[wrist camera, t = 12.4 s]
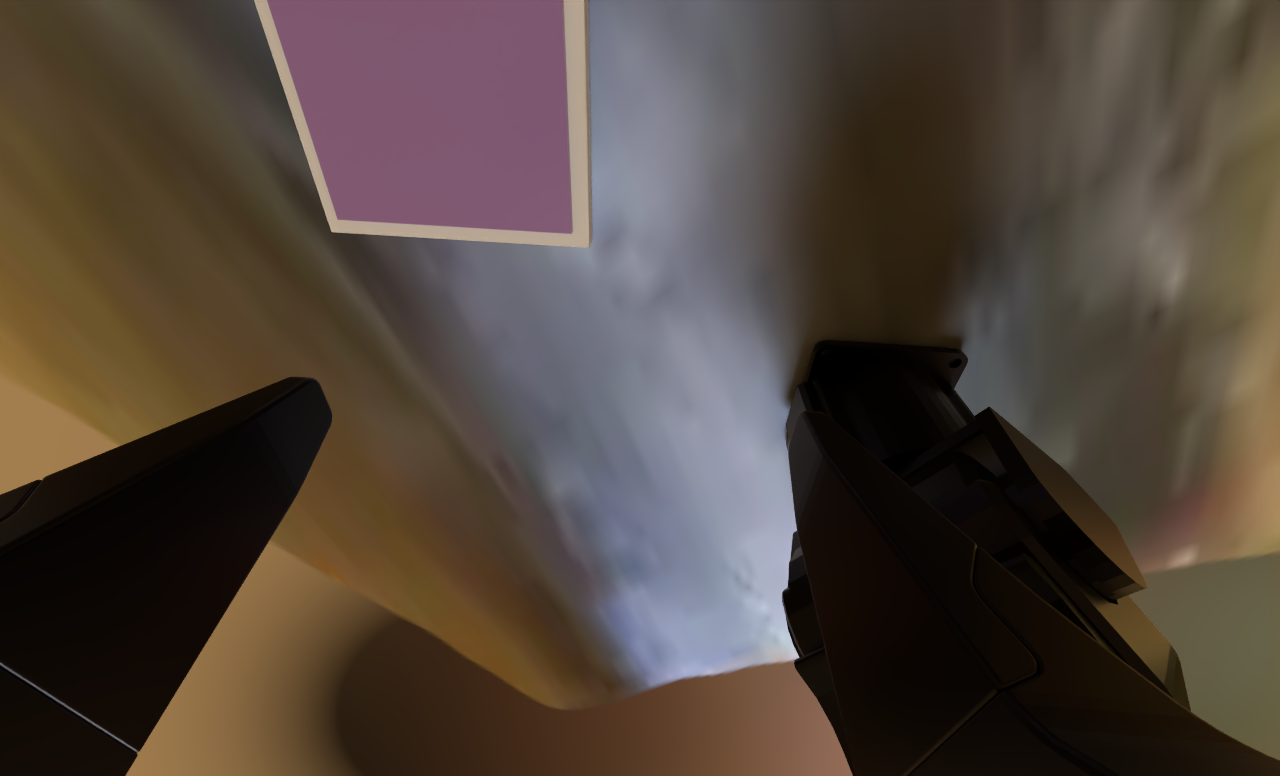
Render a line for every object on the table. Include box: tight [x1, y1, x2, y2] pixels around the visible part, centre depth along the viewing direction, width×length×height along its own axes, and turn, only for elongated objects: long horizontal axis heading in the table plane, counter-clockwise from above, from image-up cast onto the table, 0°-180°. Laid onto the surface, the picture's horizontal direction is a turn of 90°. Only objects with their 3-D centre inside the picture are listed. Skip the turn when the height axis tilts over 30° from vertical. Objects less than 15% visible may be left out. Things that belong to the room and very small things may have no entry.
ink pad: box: [254, 0, 592, 248], centre depth 17 cm, size 10×8×1 cm
